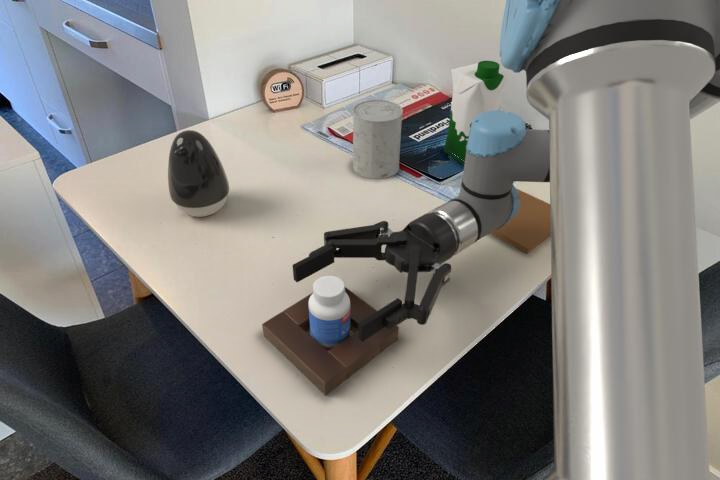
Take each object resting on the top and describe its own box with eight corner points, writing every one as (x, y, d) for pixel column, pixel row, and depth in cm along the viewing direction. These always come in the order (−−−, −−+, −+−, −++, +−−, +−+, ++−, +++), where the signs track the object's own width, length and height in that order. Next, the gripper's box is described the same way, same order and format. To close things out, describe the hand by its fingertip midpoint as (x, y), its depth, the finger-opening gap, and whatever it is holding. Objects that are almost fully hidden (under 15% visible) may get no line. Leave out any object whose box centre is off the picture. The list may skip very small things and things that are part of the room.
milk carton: (464, 169, 106) (479, 73, 94) (437, 150, 112) (447, 57, 100) (496, 158, 110) (515, 64, 97) (468, 140, 116) (482, 49, 103)
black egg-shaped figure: (165, 223, 91) (143, 145, 82) (187, 190, 99) (169, 116, 90) (221, 227, 90) (206, 149, 81) (239, 194, 98) (227, 119, 89)
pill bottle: (349, 354, 69) (349, 302, 63) (309, 353, 69) (304, 301, 63) (351, 323, 73) (350, 271, 67) (312, 322, 73) (309, 271, 67)
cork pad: (527, 253, 86) (528, 249, 85) (468, 221, 92) (469, 217, 92) (570, 219, 93) (572, 214, 92) (513, 191, 100) (514, 187, 99)
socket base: (325, 396, 64) (324, 383, 62) (263, 336, 71) (261, 323, 70) (398, 339, 71) (399, 327, 69) (335, 290, 78) (334, 278, 77)
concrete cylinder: (394, 181, 102) (398, 124, 95) (347, 175, 104) (347, 118, 96) (402, 157, 110) (406, 102, 102) (358, 152, 111) (359, 97, 104)
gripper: (503, 299, 72) (391, 382, 61) (381, 217, 87) (273, 272, 76) (513, 258, 67) (394, 340, 57) (383, 178, 82) (268, 232, 71)
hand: (325, 301), depth 66 cm, fingers open, 13 cm apart
